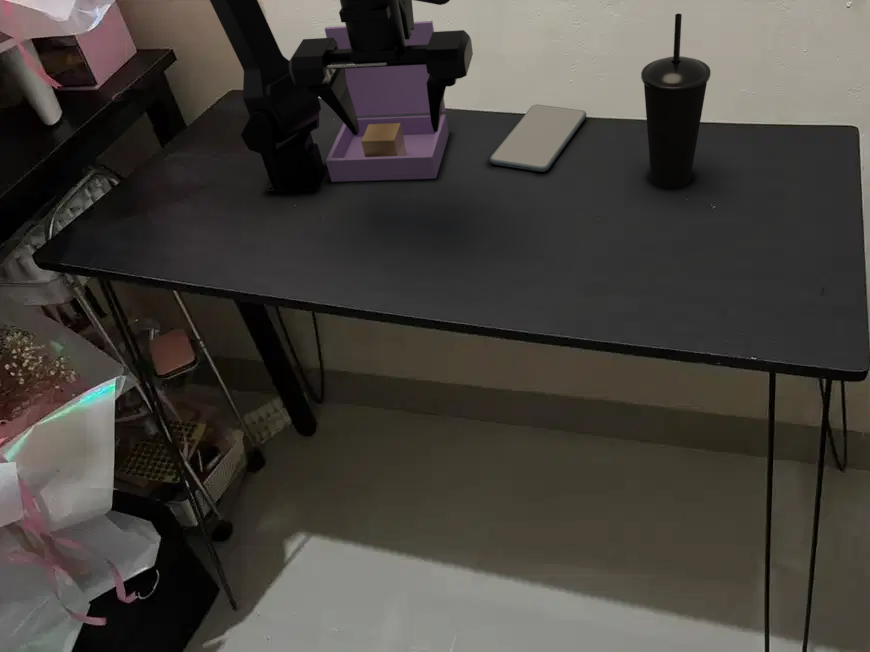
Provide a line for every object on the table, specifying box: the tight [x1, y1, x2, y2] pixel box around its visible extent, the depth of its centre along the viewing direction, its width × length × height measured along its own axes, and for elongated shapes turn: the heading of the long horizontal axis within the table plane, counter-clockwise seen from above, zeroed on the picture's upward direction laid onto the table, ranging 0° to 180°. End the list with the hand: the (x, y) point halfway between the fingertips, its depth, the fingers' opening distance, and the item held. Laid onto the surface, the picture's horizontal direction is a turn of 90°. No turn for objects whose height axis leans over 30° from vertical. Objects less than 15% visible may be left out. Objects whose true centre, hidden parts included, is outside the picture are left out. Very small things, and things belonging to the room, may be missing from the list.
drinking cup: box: [640, 13, 712, 189], centre depth 96 cm, size 8×8×20 cm
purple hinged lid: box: [324, 20, 446, 117], centre depth 112 cm, size 12×14×4 cm
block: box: [361, 123, 406, 157], centre depth 110 cm, size 4×4×4 cm
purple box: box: [325, 113, 450, 183], centre depth 112 cm, size 11×14×3 cm
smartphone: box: [489, 104, 587, 173], centre depth 112 cm, size 8×1×15 cm
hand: (396, 131), depth 94 cm, fingers open, 9 cm apart
